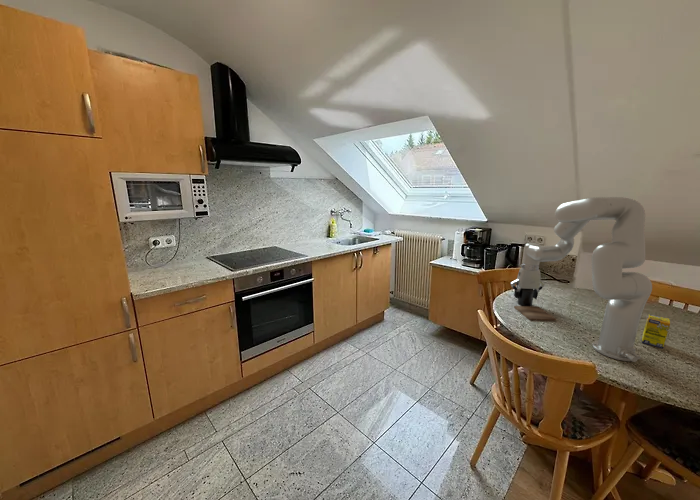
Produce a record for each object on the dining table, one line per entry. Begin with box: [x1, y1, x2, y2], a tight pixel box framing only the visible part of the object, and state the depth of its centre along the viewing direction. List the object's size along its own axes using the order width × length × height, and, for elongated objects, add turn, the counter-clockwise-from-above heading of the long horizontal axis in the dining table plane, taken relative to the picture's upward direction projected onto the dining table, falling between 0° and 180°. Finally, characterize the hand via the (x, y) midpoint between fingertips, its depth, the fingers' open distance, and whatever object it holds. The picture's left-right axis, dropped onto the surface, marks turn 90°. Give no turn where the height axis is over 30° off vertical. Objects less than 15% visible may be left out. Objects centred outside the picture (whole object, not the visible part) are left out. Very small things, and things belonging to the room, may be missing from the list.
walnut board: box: [513, 305, 557, 322], centre depth 139 cm, size 14×12×1 cm
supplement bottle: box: [517, 288, 534, 306], centre depth 149 cm, size 7×7×12 cm
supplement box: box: [641, 313, 671, 350], centre depth 112 cm, size 6×6×11 cm
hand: (525, 297), depth 150 cm, fingers open, 8 cm apart
